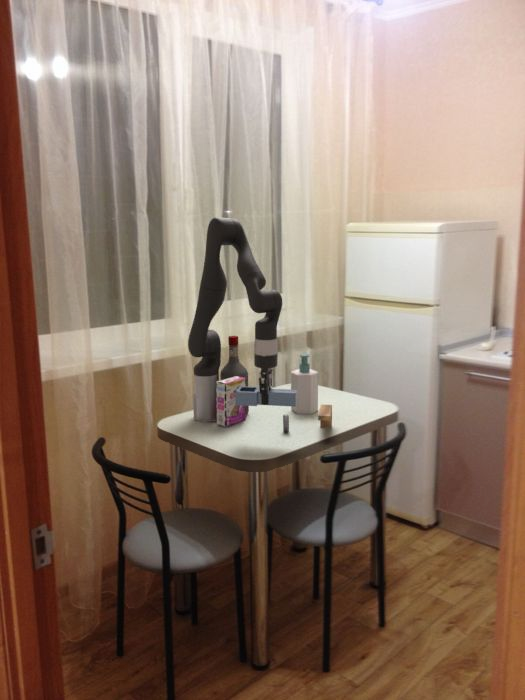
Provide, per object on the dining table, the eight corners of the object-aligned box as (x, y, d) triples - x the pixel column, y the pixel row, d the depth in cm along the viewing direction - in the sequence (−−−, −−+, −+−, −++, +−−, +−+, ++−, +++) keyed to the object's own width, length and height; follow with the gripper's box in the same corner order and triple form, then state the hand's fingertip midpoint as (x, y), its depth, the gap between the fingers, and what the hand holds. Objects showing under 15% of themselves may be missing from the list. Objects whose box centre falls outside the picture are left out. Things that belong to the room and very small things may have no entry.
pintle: (282, 432, 223) (282, 416, 221) (283, 431, 225) (283, 414, 223) (288, 433, 222) (288, 416, 221) (289, 431, 224) (289, 414, 223)
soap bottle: (318, 407, 252) (318, 352, 247) (317, 414, 243) (317, 357, 239) (291, 406, 253) (291, 352, 248) (290, 413, 244) (290, 357, 240)
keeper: (318, 438, 217) (318, 415, 215) (320, 426, 229) (320, 404, 228) (329, 438, 216) (330, 416, 215) (331, 426, 229) (332, 404, 227)
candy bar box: (226, 428, 229) (225, 383, 225) (216, 425, 232) (214, 381, 229) (246, 420, 237) (246, 377, 234) (236, 417, 240) (235, 375, 237)
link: (235, 405, 209) (235, 391, 208) (239, 398, 216) (239, 386, 215) (295, 408, 206) (295, 394, 205) (297, 401, 213) (297, 388, 212)
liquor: (232, 408, 252) (230, 333, 245) (251, 412, 246) (250, 335, 240) (218, 414, 244) (216, 337, 238) (237, 418, 239) (235, 339, 233)
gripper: (258, 346, 215) (258, 396, 218) (250, 356, 201) (250, 408, 205) (280, 347, 213) (280, 397, 217) (274, 357, 200) (274, 409, 203)
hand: (265, 402), depth 211 cm, fingers closed on link, 4 cm apart
